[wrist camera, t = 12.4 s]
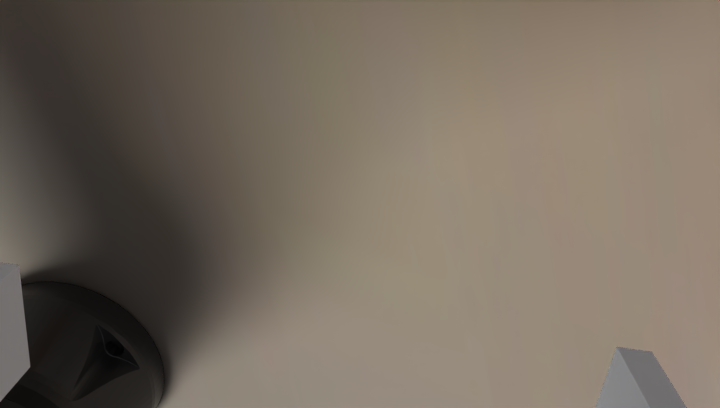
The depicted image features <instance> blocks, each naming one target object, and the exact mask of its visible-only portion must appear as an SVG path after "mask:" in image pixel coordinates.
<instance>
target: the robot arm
mask: <svg viewBox="0 0 720 408" xmlns="http://www.w3.org/2000/svg"><path fill="white" fill-rule="evenodd" d="M163 388H164V371H163V365H162V362H161V358H160V355H159V353H158V351H157V348H156V346H155V345H154V343H153V341H152V339H151V338H150V336H149V335H148V334H147V332H146V331H145V330H144V328H143V327H142V326H141V325H140V324H139V323H138V322H137V321H136V320H135V319H134V318H133V317H132V316H131V315H130V314H129V313H128V312H126V311H125V310H124V309H123V308H121V307H120V306H118V305H117V304H115V303H114V302H112V301H111V300H109V299H107V298H105V297H103V296H101V295H99V294H97V293H95V292H92V291H90V290H87V289H84V288H81V287H78V286H74V285H69V284H64V283H55V282H39V283H31V284H26V285H22V286H21V278H20V269H19V265H15V264H8V263H1V262H0V408H156V407H157V406H158V404H159V402H160V399H161V396H162V393H163ZM595 408H687V407H686V406H685V404H684V402H683V401H682V399H681V398H680V396H679V394H678V393H677V391H676V390H675V388H674V386H673V385H672V383H671V382H670V380H669V378H668V377H667V375H666V374H665V372H664V370H663V369H662V367H661V366H660V364H659V362H658V361H657V359H656V358H655V356H654V354H653V353H652V352H650V351H643V350H636V349H628V348H621V347H617V348H616V351H615V354H614V356H613V359H612V362H611V365H610V368H609V370H608V373H607V376H606V379H605V382H604V384H603V387H602V390H601V393H600V396H599V398H598V401H597V404H596V407H595Z"/></svg>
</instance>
